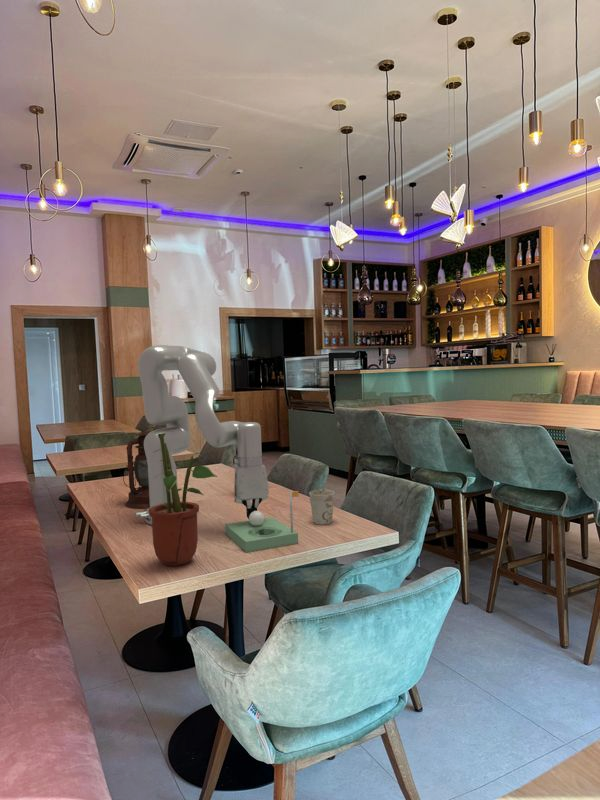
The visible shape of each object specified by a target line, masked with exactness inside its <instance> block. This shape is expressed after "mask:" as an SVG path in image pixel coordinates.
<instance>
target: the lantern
mask: <svg viewBox="0 0 600 800" xmlns="http://www.w3.org/2000/svg"><path fill="white" fill-rule="evenodd" d="M149 429H153V430H149ZM154 430H157V429H156V427H154V426H151V427H147V428H145V429H144V430H142V431H141V432H138V433H135V436H137V438H133V439H131V440H129V441H128V443H127V446H126V449H125V450H126V456H127V457H126V458H127V465H126V466H125V468H124V470H123V476H122V479H123V484H124V485H125V486H126V488H129V492H128V500H127V501H126V502H125V504H124V506H125V507H126V508H128V509H133V510H148V508H149V507H150V499H149V477H148V464H147V458H146V454H145V450H144V439H145V437H146V436H147V435H148V434H149V433H150V432H152V431H154ZM137 444H138V445H137ZM133 445H136V446H135V447H134V448H135V449H137V453H138V454H136V456H135V458H134V456H133ZM127 469H128V485H127V484H126V483H125V473H126V470H127ZM137 483H138V487H136V485H137Z"/></svg>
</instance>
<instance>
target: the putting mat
mask: <svg viewBox="0 0 600 800" xmlns="http://www.w3.org/2000/svg"><path fill="white" fill-rule="evenodd" d="M299 495H300V494H299V491H298V490H297V491H296V490H295V491H289V506H290V510H289V511H290V527H289V526H287V525H286V524H285V523H283V522H281V521H279V520H278V519H276V518H275V517H273V516H271V517H270V516H269V517H264V521H263V523H262V524H261V525H259V526H254V525H252V524H251V523H250V521H249V520H244V521H236V522H232V523H230V522H229V523H225V524H224V531H225V535H226V536H228V538H230V539H231V540H232V541H233V543H235V544H236V545H238V546H239V548H241V549H242V550H243V551H244V552H245V553H251V552H256V551H261V550H267V549H268V550H269V549H274V548H279V547H284V546H290V545H295V544H299V532H298V531H295V530H294V522H293V521H294V518H293V498H297V497H299Z"/></svg>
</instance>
